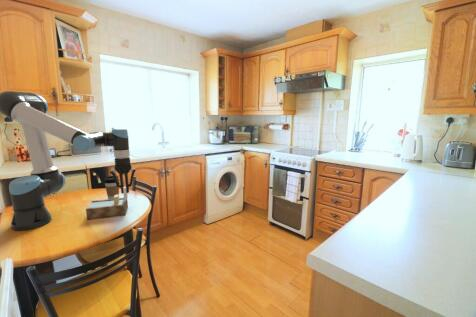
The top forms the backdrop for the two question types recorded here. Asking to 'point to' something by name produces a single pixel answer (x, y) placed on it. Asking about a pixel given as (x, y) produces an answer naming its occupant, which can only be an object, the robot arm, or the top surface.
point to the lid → (107, 202)
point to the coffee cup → (111, 187)
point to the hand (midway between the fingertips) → (125, 198)
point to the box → (107, 210)
